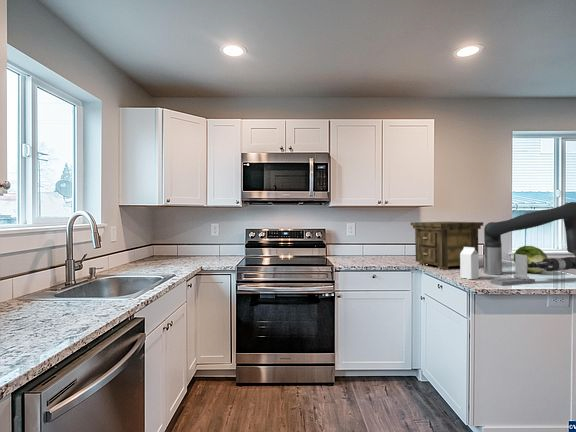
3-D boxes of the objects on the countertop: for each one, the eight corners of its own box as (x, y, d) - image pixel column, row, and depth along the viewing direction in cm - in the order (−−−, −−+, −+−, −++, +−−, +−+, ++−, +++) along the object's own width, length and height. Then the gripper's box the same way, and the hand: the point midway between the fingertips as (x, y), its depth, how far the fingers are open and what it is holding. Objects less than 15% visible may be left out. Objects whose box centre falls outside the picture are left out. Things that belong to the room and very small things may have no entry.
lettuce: (524, 275, 213) (532, 249, 210) (506, 264, 236) (512, 240, 233) (553, 281, 211) (562, 255, 208) (532, 269, 234) (540, 245, 231)
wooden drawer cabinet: (483, 268, 242) (483, 222, 242) (441, 271, 233) (440, 223, 233) (449, 261, 276) (448, 221, 276) (411, 264, 267) (410, 222, 267)
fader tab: (523, 279, 188) (522, 255, 188) (513, 277, 194) (513, 254, 194) (529, 278, 189) (528, 255, 189) (519, 276, 195) (519, 254, 195)
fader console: (502, 285, 184) (502, 281, 184) (490, 282, 192) (490, 279, 192) (535, 283, 189) (535, 279, 189) (522, 280, 197) (522, 276, 197)
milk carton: (471, 280, 200) (470, 247, 200) (460, 278, 206) (459, 247, 206) (478, 279, 203) (478, 247, 203) (467, 277, 210) (467, 246, 210)
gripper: (542, 256, 203) (518, 257, 199) (565, 259, 190) (540, 260, 187) (542, 269, 203) (518, 270, 200) (565, 272, 190) (540, 274, 187)
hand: (529, 265), depth 193 cm, fingers closed
